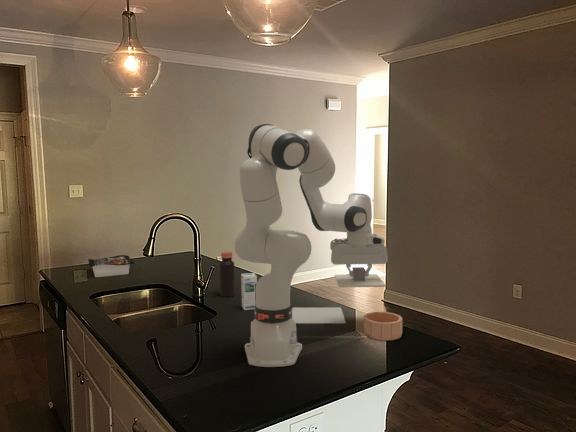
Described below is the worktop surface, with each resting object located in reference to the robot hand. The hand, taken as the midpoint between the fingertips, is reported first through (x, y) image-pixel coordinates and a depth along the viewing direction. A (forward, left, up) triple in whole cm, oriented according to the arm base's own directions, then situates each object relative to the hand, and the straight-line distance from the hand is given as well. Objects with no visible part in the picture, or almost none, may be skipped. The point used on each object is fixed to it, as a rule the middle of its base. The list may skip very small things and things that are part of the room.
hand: (358, 276), depth 176 cm
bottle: (+45, +54, -20) cm, 73 cm away
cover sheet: (0, 0, -2) cm, 2 cm away
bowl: (-7, -8, -19) cm, 22 cm away
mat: (+12, +14, -19) cm, 27 cm away
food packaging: (+95, +127, -20) cm, 160 cm away
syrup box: (+25, +42, -20) cm, 53 cm away
